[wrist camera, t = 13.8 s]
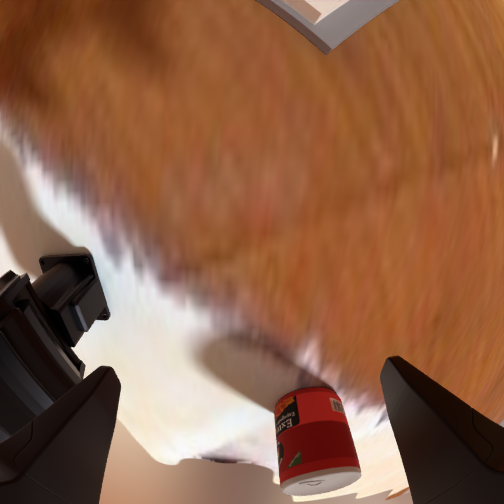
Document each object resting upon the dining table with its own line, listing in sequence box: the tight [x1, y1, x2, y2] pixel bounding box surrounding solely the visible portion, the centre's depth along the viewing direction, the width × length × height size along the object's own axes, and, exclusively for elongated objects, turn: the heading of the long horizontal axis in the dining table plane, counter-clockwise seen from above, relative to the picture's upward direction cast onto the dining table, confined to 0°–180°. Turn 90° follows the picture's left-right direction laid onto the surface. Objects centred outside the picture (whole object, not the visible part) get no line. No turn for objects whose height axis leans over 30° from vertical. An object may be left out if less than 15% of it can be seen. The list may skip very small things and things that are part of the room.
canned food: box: [274, 387, 361, 496], centre depth 23 cm, size 8×8×11 cm
